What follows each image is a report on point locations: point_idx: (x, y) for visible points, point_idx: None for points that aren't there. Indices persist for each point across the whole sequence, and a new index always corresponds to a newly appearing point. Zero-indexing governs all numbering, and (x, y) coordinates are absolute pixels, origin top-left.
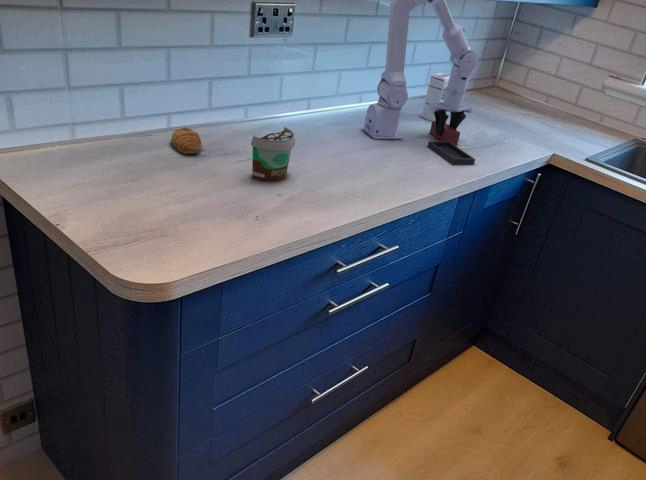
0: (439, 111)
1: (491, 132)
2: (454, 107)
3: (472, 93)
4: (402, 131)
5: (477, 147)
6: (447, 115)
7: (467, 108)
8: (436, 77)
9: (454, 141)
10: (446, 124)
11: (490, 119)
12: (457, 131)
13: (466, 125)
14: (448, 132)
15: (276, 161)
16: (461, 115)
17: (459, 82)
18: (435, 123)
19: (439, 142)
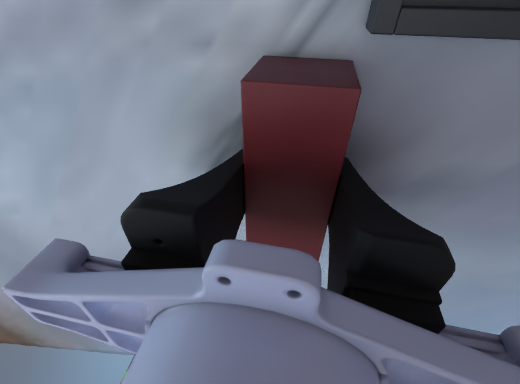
0: (440, 317)
1: (7, 190)
2: (307, 333)
3: (39, 341)
4: (460, 255)
5: (118, 5)
6: (384, 245)
7: (72, 284)
8: None
9: (289, 62)
10: (257, 224)
11: (6, 263)
12: (257, 105)
13: (96, 248)
14: (356, 105)
15: None
16: (186, 215)
17: None
18: (321, 247)
19: (516, 9)
